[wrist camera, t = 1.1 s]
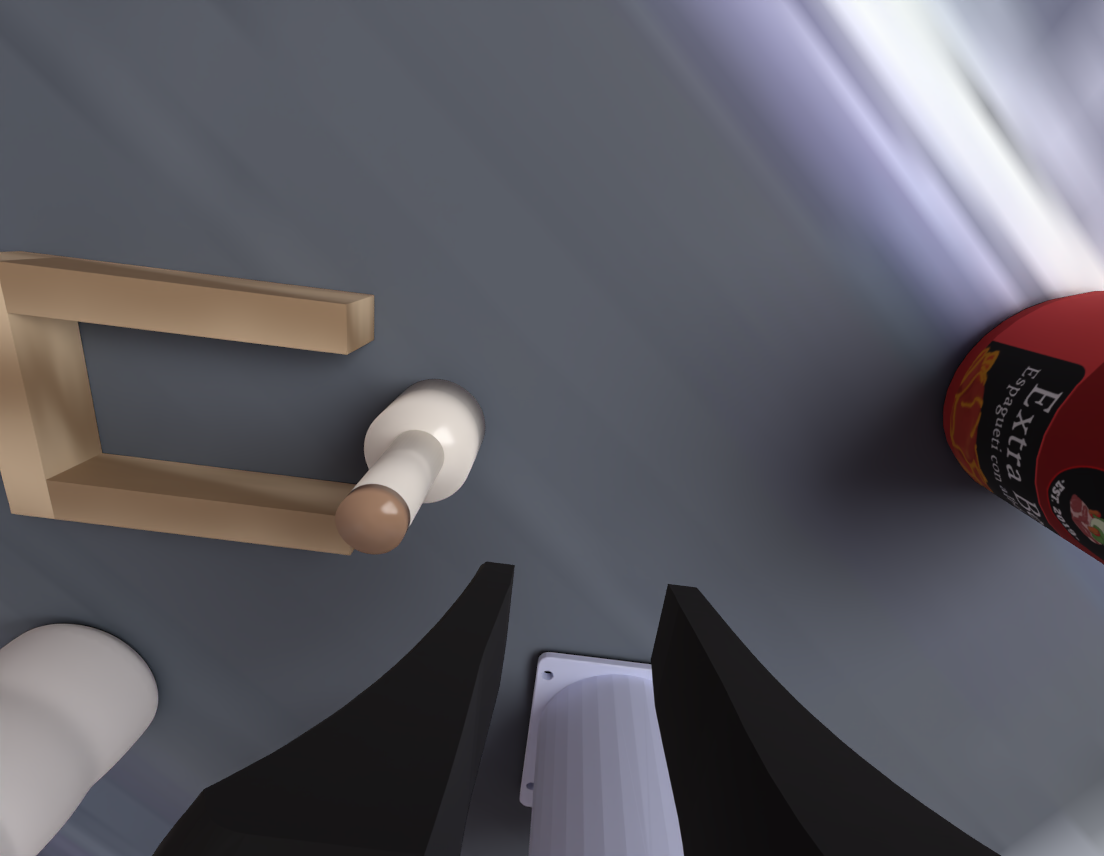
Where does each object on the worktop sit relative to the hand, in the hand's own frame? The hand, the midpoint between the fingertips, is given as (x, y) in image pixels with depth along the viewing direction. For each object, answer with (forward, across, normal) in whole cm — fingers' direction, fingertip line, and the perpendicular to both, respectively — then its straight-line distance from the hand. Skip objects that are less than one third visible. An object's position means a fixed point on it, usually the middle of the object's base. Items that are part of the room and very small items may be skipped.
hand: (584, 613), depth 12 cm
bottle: (+10, +6, 0) cm, 11 cm away
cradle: (+10, +14, 0) cm, 17 cm away
